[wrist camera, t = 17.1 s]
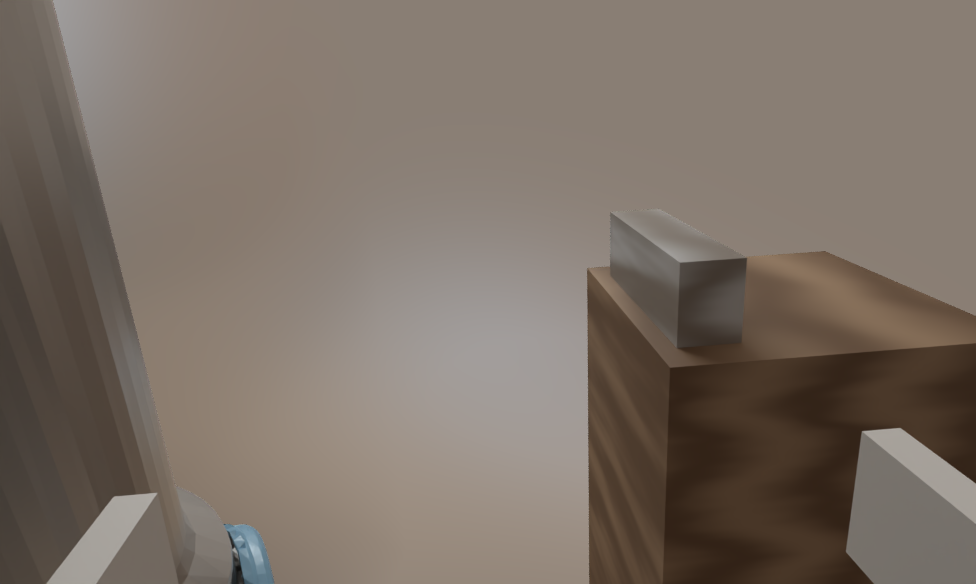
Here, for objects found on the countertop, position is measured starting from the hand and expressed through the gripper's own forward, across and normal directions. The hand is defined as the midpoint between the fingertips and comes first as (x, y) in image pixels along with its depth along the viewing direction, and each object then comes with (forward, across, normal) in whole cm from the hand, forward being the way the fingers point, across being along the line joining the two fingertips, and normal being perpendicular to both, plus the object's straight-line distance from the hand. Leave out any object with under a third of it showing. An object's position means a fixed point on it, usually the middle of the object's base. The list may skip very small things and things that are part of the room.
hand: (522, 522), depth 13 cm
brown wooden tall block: (+23, +16, -34) cm, 44 cm away
